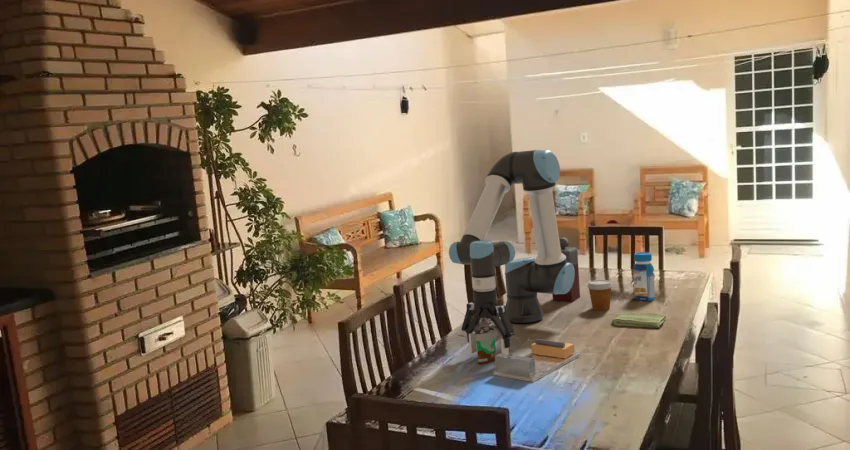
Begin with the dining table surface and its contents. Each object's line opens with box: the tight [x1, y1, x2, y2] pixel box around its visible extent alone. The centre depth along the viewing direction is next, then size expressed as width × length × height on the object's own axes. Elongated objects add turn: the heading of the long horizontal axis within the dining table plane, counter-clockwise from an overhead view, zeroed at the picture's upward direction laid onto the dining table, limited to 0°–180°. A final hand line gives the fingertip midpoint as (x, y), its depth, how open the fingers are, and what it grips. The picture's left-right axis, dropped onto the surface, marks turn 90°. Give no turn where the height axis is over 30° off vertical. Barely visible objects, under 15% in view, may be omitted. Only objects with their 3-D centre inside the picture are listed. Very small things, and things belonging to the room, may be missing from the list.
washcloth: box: [610, 312, 666, 329], centre depth 253 cm, size 13×18×3 cm
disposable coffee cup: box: [587, 279, 613, 312], centre depth 273 cm, size 10×10×12 cm
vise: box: [492, 351, 582, 383], centre depth 214 cm, size 14×28×6 cm, turn 139°
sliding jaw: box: [530, 338, 575, 358], centre depth 221 cm, size 12×6×5 cm, turn 49°
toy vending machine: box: [551, 237, 581, 303], centre depth 292 cm, size 9×11×28 cm
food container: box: [476, 324, 498, 365], centre depth 224 cm, size 12×6×10 cm, turn 168°
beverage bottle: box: [632, 251, 656, 302], centre depth 285 cm, size 8×8×20 cm
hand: (489, 355), depth 224 cm, fingers open, 12 cm apart
